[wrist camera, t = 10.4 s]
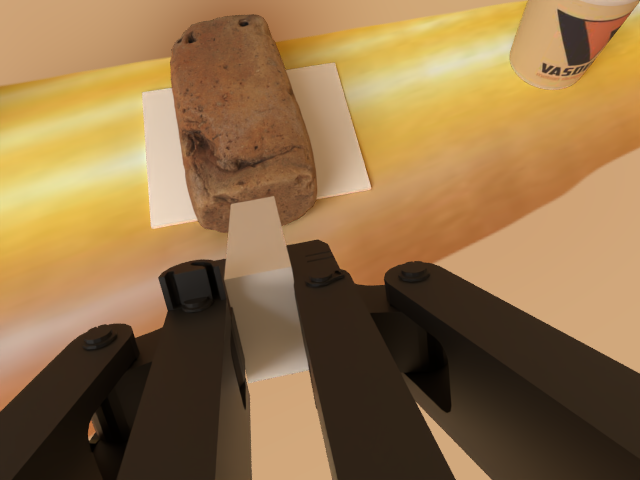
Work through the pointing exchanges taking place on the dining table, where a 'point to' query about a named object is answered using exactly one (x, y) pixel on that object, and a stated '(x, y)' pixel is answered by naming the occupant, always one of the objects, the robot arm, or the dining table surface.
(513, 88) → the dining table surface
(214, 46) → the block
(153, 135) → the mat
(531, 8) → the coffee cup
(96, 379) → the robot arm
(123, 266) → the dining table surface
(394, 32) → the dining table surface
